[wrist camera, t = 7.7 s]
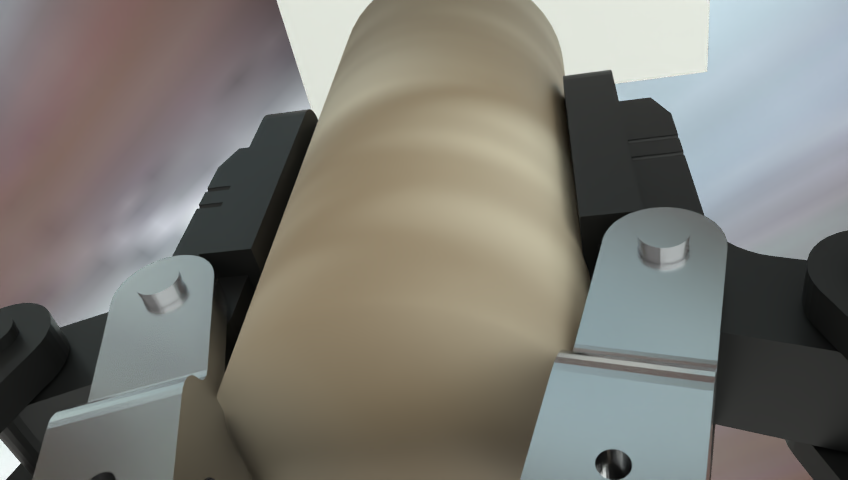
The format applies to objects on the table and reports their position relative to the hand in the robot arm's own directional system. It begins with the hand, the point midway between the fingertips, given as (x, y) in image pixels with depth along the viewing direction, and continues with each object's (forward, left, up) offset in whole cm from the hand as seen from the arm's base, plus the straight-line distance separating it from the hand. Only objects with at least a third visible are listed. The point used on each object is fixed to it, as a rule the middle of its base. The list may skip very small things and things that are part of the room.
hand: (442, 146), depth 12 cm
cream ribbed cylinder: (0, 0, -2) cm, 2 cm away
